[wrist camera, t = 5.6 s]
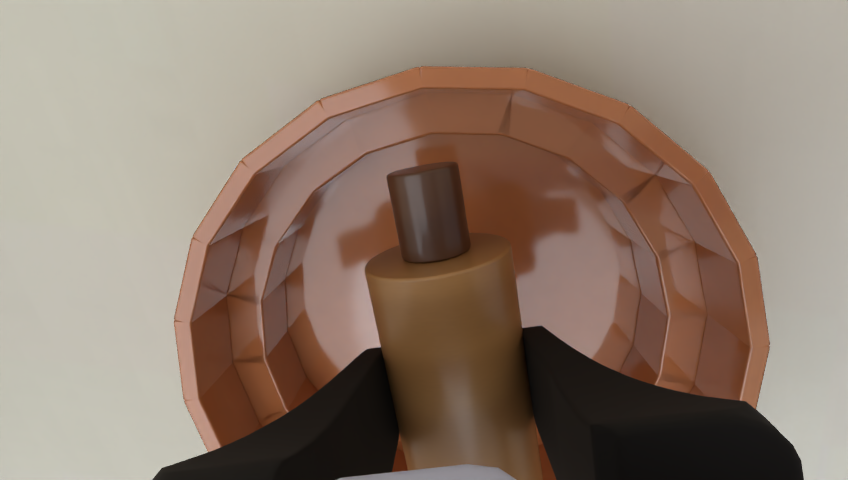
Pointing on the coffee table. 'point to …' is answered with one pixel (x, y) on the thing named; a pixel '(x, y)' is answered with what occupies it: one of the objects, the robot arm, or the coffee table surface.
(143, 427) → the coffee table surface
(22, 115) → the coffee table surface
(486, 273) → the rolling pin
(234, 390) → the bowl
